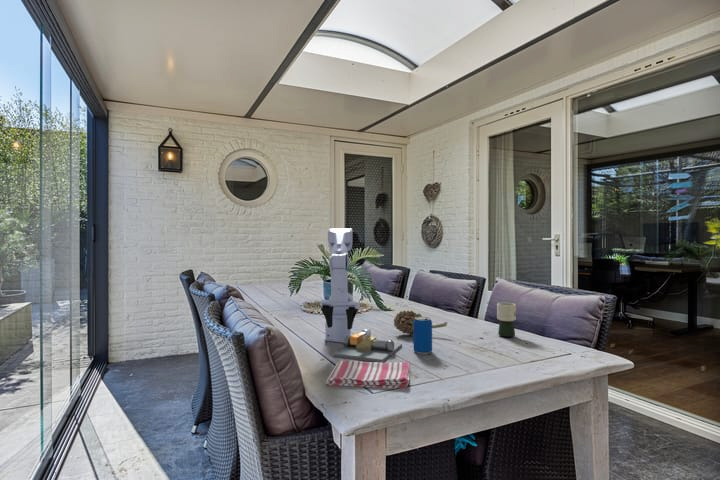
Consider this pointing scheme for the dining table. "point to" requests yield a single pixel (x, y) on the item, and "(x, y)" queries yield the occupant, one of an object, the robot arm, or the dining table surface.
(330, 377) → the dish towel
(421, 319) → the beverage can
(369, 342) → the valve pipe
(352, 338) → the valve lever
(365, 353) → the base board
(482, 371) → the dining table surface
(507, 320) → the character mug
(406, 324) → the pine cone
